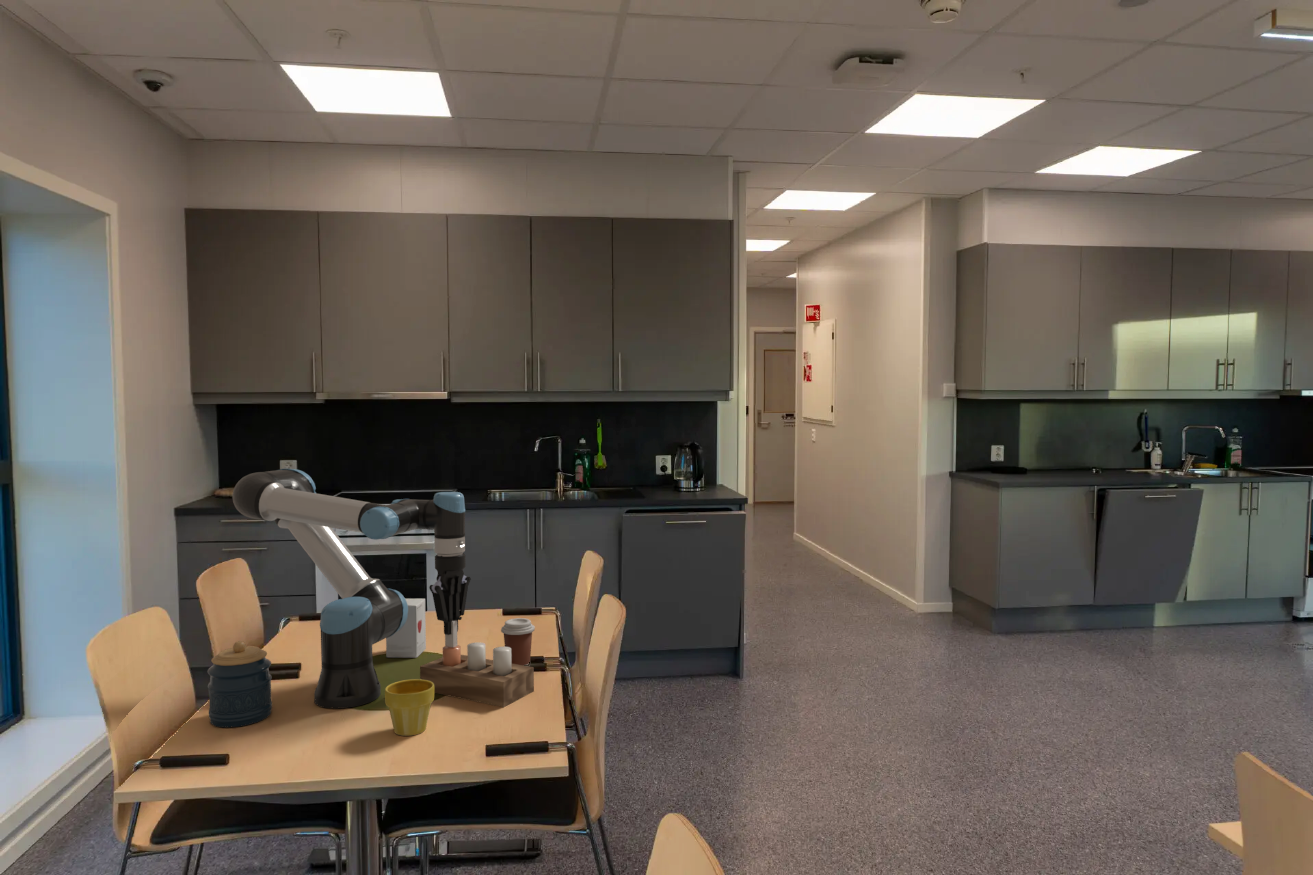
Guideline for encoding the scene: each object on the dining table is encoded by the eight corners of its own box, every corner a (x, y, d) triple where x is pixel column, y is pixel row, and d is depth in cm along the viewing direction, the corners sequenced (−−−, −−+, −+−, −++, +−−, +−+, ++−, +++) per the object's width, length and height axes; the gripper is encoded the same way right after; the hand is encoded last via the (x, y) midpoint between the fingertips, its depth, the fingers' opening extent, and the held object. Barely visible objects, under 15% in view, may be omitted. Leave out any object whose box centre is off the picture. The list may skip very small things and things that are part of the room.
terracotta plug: (452, 678, 204) (452, 650, 204) (439, 675, 206) (438, 648, 206) (464, 673, 208) (464, 646, 208) (451, 670, 210) (450, 643, 210)
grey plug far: (504, 681, 197) (503, 652, 197) (489, 678, 199) (489, 650, 199) (515, 676, 201) (514, 647, 200) (500, 673, 203) (500, 645, 202)
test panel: (503, 707, 192) (503, 681, 192) (420, 689, 204) (419, 666, 204) (533, 691, 203) (533, 667, 203) (452, 675, 215) (452, 652, 215)
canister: (274, 703, 195) (272, 630, 194) (270, 723, 183) (268, 645, 182) (213, 711, 190) (211, 636, 190) (204, 732, 178) (202, 652, 178)
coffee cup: (538, 659, 228) (538, 617, 227) (530, 670, 219) (529, 626, 218) (506, 658, 229) (506, 616, 228) (497, 669, 220) (496, 625, 219)
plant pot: (416, 717, 186) (416, 675, 186) (444, 728, 180) (443, 684, 179) (376, 731, 178) (375, 687, 178) (403, 743, 172) (402, 698, 171)
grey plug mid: (477, 676, 200) (477, 648, 200) (463, 673, 202) (463, 646, 202) (489, 671, 204) (489, 643, 204) (475, 668, 206) (475, 641, 206)
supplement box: (417, 658, 230) (416, 605, 229) (385, 658, 230) (384, 605, 229) (427, 648, 239) (426, 597, 238) (396, 648, 239) (395, 597, 238)
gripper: (443, 559, 198) (445, 655, 199) (478, 550, 210) (479, 641, 211) (420, 556, 202) (421, 650, 203) (456, 548, 213) (457, 637, 214)
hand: (451, 645), depth 207 cm, fingers closed
